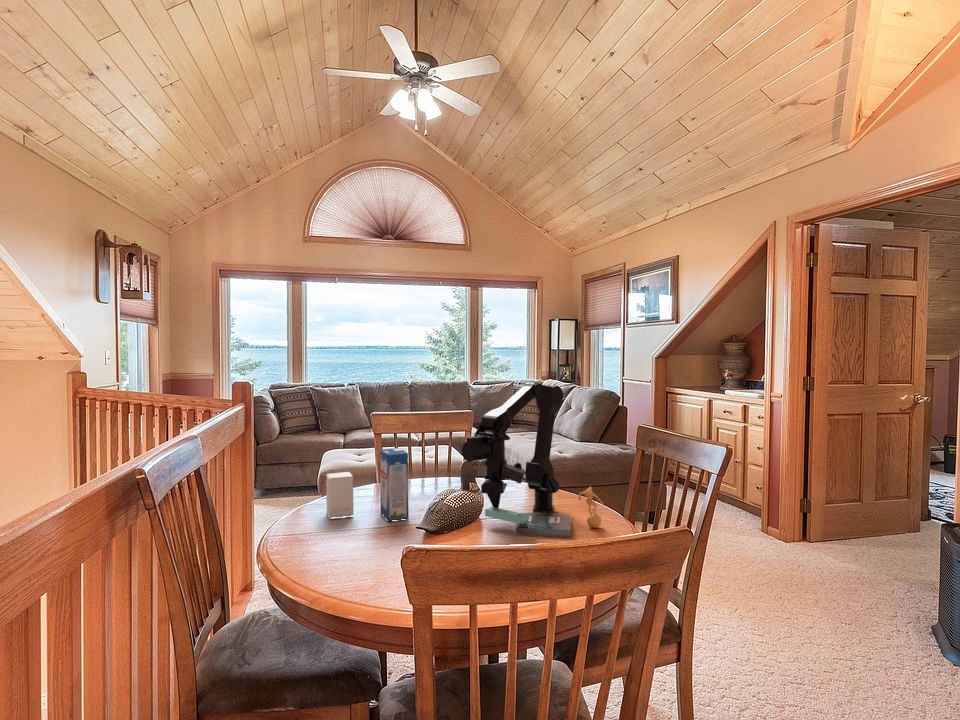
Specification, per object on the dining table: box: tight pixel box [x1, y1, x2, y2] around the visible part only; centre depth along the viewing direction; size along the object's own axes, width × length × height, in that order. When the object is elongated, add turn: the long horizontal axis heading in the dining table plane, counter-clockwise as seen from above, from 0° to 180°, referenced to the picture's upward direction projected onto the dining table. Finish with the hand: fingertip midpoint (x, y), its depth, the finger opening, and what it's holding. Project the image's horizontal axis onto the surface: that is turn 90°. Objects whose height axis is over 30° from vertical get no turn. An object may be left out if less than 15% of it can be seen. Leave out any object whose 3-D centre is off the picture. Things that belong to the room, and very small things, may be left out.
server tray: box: [515, 512, 572, 538], centre depth 154 cm, size 14×15×3 cm
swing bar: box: [484, 506, 528, 524], centre depth 152 cm, size 13×3×2 cm, turn 52°
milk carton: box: [379, 447, 409, 521], centre depth 165 cm, size 10×6×20 cm, turn 23°
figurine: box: [578, 486, 605, 529], centre depth 153 cm, size 8×6×12 cm
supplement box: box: [325, 471, 354, 519], centre depth 166 cm, size 7×7×13 cm
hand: (496, 509), depth 158 cm, fingers closed
